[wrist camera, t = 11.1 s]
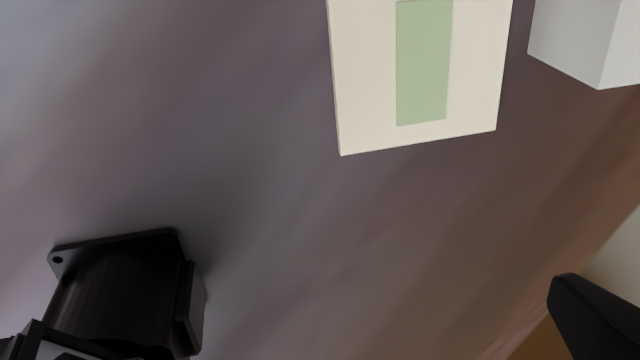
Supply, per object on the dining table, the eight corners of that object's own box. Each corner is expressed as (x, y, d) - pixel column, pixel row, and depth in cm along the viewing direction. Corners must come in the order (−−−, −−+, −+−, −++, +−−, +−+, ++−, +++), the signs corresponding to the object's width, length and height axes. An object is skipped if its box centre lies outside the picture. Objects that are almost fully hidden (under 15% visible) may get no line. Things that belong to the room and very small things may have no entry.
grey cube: (526, 52, 21) (597, 90, 17) (545, -66, 18) (636, -57, 14) (622, 39, 22) (715, 72, 17) (655, -79, 19) (774, -74, 15)
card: (338, 150, 22) (341, 158, 22) (323, -23, 18) (327, -20, 17) (489, 125, 23) (497, 131, 22) (511, -47, 19) (521, -45, 18)
